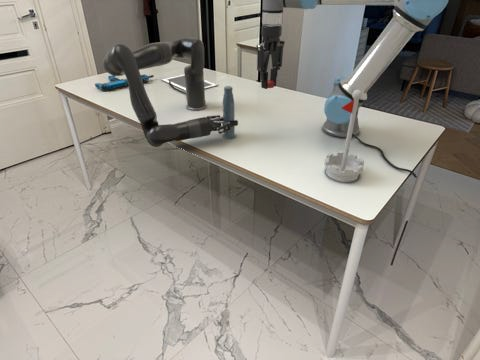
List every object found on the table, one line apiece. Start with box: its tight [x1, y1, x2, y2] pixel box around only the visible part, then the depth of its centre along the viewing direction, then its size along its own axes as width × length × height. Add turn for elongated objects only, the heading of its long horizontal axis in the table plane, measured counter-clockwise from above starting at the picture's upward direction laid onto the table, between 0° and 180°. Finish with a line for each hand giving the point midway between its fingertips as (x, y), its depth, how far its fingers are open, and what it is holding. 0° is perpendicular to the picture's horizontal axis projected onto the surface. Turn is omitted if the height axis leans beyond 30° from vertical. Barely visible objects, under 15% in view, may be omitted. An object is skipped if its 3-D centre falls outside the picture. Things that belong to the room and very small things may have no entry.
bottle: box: [222, 85, 236, 139], centre depth 140 cm, size 5×5×21 cm
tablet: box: [161, 74, 219, 92], centre depth 208 cm, size 32×20×1 cm, turn 41°
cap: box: [267, 79, 275, 89], centre depth 138 cm, size 5×5×2 cm
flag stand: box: [323, 90, 365, 183], centre depth 111 cm, size 13×13×30 cm
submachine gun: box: [94, 74, 155, 91], centre depth 208 cm, size 34×4×25 cm
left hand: (234, 120), depth 143 cm, fingers closed on bottle, 4 cm apart
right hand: (268, 86), depth 139 cm, fingers closed on cap, 4 cm apart
